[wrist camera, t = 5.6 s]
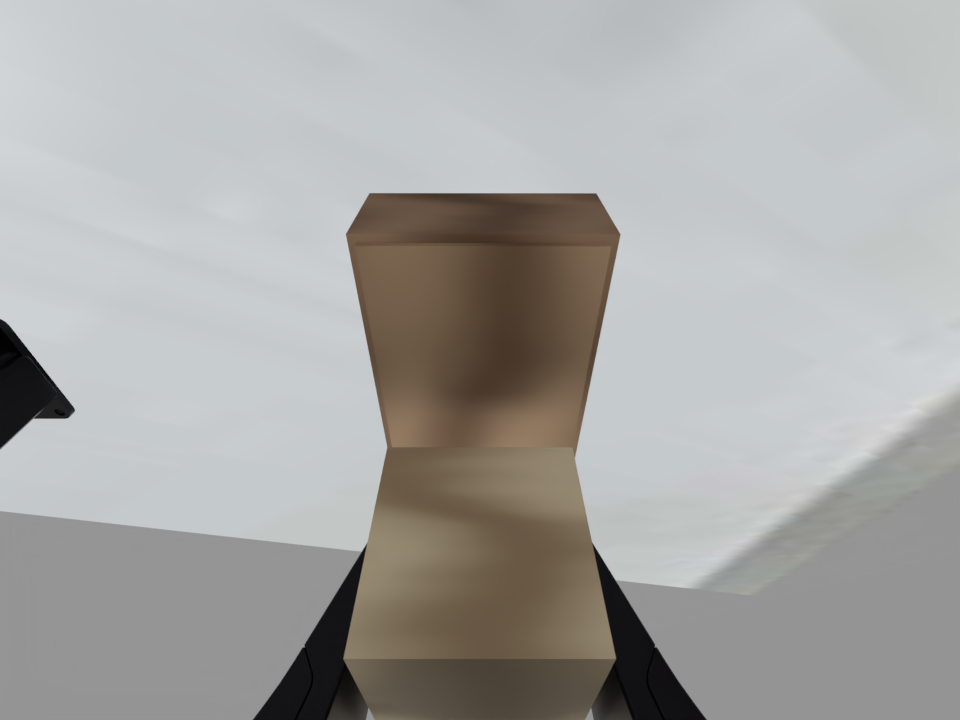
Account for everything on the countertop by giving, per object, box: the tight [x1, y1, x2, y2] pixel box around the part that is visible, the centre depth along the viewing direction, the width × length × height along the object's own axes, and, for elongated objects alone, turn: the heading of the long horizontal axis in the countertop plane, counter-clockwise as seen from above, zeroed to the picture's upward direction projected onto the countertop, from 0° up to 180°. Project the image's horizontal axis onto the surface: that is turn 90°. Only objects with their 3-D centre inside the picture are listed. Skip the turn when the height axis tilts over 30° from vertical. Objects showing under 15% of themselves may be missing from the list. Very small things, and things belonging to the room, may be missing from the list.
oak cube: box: [343, 447, 616, 720], centre depth 12 cm, size 5×5×5 cm
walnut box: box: [346, 193, 621, 457], centre depth 20 cm, size 9×12×4 cm
